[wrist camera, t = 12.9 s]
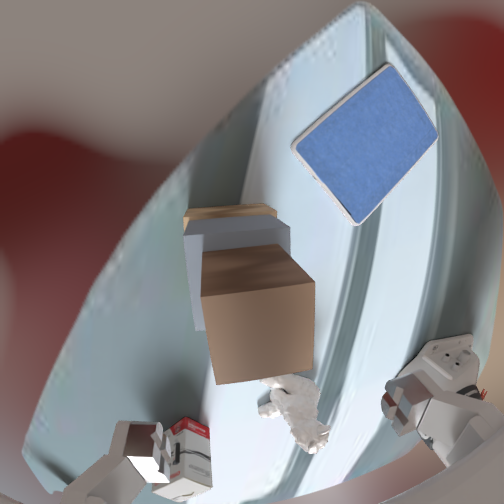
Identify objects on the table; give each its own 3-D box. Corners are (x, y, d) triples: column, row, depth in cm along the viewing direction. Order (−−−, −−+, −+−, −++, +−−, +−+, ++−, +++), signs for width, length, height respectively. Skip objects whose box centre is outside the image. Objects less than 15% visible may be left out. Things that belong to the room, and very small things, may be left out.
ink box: (184, 414, 37) (184, 478, 26) (210, 427, 38) (215, 488, 27) (155, 436, 38) (150, 494, 26) (179, 448, 39) (179, 503, 28)
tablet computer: (352, 228, 33) (357, 230, 32) (285, 147, 29) (288, 146, 28) (435, 137, 32) (441, 136, 30) (385, 63, 28) (390, 60, 27)
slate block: (270, 214, 25) (290, 227, 19) (273, 289, 27) (290, 320, 21) (188, 220, 24) (182, 235, 18) (197, 296, 26) (195, 330, 20)
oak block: (263, 203, 30) (276, 210, 25) (265, 274, 33) (278, 295, 27) (187, 208, 29) (183, 217, 24) (194, 280, 31) (192, 304, 26)
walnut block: (277, 243, 19) (315, 282, 12) (280, 310, 20) (312, 369, 14) (202, 252, 18) (200, 297, 12) (211, 319, 20) (216, 385, 13)
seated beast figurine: (258, 365, 36) (278, 432, 24) (319, 358, 37) (354, 417, 26) (256, 411, 38) (272, 473, 27) (310, 404, 40) (336, 460, 28)
